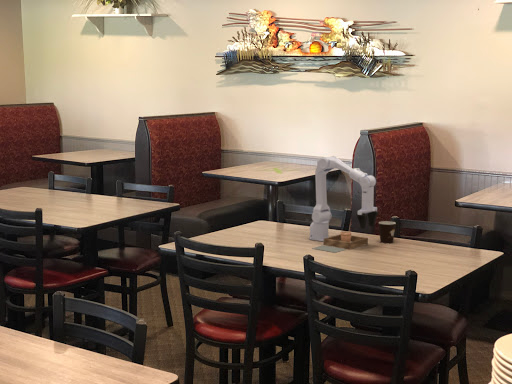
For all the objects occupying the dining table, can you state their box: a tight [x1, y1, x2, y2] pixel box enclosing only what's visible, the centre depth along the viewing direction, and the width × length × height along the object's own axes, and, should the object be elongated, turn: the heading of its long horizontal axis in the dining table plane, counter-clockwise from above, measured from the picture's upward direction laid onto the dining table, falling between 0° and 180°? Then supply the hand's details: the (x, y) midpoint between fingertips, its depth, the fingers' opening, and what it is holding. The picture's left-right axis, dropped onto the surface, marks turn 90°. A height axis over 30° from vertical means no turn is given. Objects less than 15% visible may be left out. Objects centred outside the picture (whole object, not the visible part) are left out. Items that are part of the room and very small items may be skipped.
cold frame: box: [323, 234, 369, 250], centre depth 345 cm, size 16×16×3 cm
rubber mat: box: [311, 244, 347, 254], centre depth 334 cm, size 14×9×1 cm, turn 48°
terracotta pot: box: [339, 231, 352, 243], centre depth 345 cm, size 6×6×6 cm
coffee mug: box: [378, 220, 398, 244], centre depth 349 cm, size 12×9×10 cm
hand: (367, 227), depth 336 cm, fingers open, 7 cm apart
